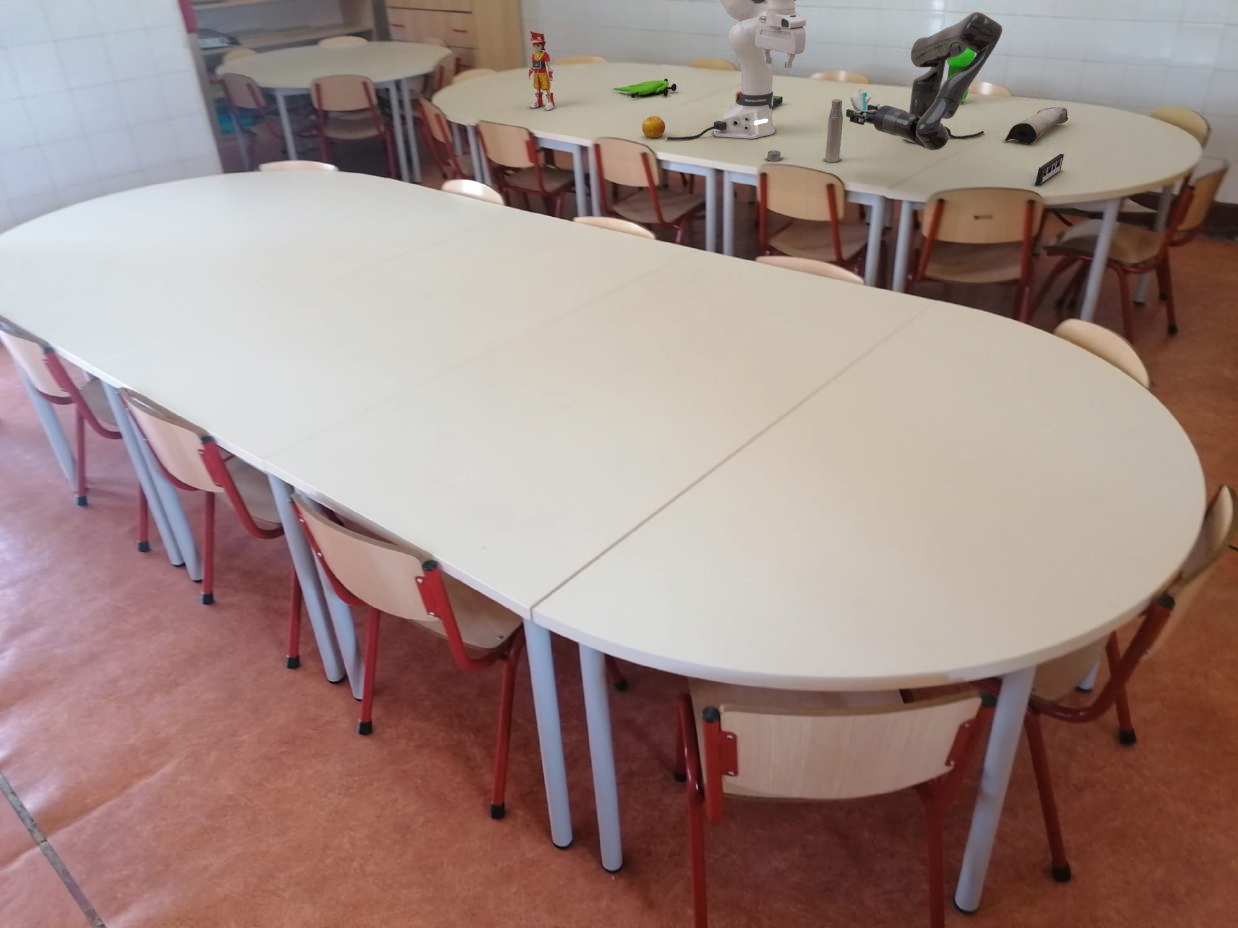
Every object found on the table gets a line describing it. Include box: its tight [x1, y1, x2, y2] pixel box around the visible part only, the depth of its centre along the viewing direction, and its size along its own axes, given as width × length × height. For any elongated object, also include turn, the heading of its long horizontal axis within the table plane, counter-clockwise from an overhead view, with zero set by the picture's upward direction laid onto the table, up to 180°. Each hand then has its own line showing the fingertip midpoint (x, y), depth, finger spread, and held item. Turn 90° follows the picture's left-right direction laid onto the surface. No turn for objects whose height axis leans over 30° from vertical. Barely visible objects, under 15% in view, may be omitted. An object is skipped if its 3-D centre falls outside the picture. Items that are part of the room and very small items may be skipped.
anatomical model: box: [850, 88, 881, 117], centre depth 343 cm, size 15×10×10 cm
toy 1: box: [527, 31, 556, 111], centre depth 374 cm, size 12×9×30 cm
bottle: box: [824, 98, 844, 163], centre depth 296 cm, size 5×5×19 cm
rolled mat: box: [1004, 106, 1069, 145], centre depth 312 cm, size 30×9×10 cm
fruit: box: [641, 115, 666, 138], centre depth 334 cm, size 8×8×8 cm
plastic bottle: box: [946, 48, 976, 102], centre depth 348 cm, size 10×10×25 cm
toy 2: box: [612, 78, 677, 99], centre depth 396 cm, size 28×5×30 cm
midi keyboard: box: [1035, 153, 1065, 186], centre depth 273 cm, size 18×1×5 cm, turn 138°
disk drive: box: [772, 95, 784, 109], centre depth 364 cm, size 10×3×15 cm
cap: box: [766, 149, 782, 162], centre depth 305 cm, size 4×4×2 cm
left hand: (778, 66), depth 288 cm, fingers open, 8 cm apart
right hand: (857, 110), depth 283 cm, fingers open, 8 cm apart
